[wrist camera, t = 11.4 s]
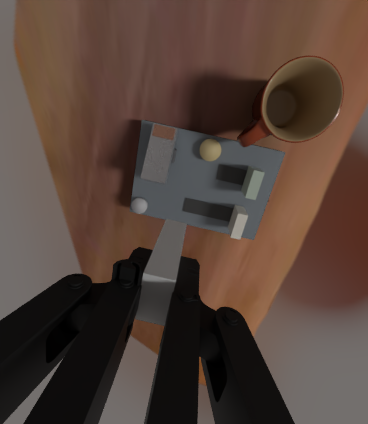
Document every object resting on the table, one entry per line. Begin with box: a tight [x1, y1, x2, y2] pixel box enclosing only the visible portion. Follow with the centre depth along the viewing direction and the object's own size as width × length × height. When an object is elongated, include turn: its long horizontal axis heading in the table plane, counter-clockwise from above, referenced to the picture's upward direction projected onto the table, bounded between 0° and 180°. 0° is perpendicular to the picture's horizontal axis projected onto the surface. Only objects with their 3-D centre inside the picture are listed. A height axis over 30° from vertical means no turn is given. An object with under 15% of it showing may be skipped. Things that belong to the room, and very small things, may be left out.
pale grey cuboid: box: [228, 205, 248, 239], centre depth 36 cm, size 4×2×4 cm, turn 168°
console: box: [130, 120, 285, 240], centre depth 38 cm, size 15×22×4 cm
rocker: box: [141, 123, 178, 185], centre depth 33 cm, size 8×4×2 cm, turn 168°
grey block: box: [241, 166, 265, 200], centre depth 34 cm, size 4×2×4 cm, turn 168°
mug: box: [237, 56, 344, 147], centre depth 31 cm, size 12×9×10 cm
